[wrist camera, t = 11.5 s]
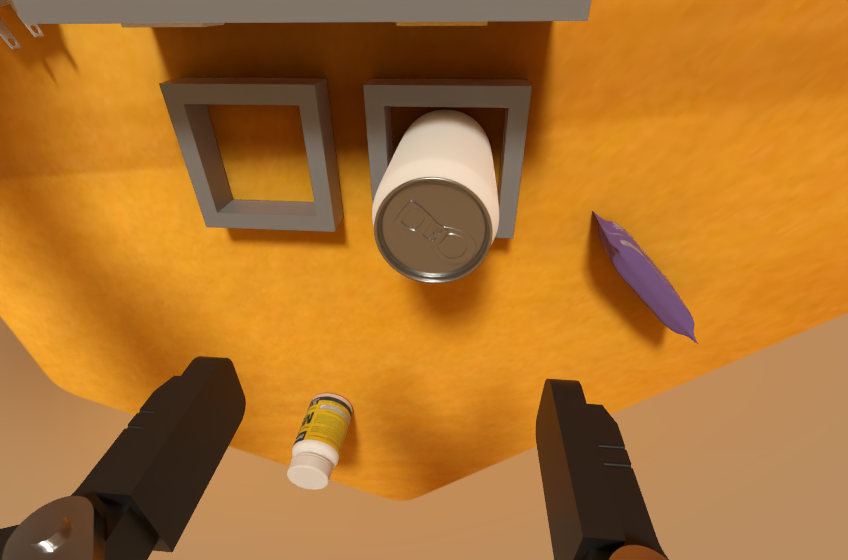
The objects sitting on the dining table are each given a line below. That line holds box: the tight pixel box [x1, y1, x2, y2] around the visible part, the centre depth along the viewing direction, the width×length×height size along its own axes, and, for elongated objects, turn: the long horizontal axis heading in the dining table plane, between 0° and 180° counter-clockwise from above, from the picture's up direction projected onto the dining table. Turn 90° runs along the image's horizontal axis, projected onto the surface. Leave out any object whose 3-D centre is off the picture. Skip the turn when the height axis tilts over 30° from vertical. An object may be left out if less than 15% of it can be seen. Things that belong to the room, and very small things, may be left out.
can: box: [372, 109, 499, 284], centre depth 25 cm, size 6×6×12 cm
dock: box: [12, 0, 591, 238], centre depth 25 cm, size 25×14×9 cm, turn 90°
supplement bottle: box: [287, 393, 353, 490], centre depth 43 cm, size 5×5×8 cm
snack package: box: [592, 211, 698, 344], centre depth 31 cm, size 12×2×5 cm, turn 46°
